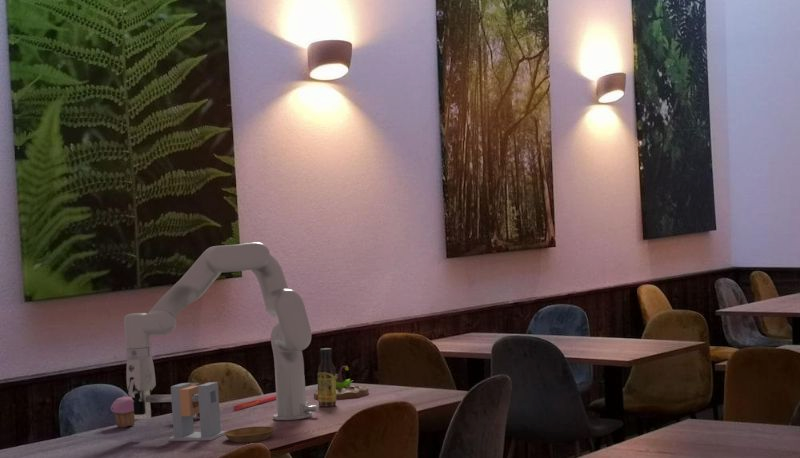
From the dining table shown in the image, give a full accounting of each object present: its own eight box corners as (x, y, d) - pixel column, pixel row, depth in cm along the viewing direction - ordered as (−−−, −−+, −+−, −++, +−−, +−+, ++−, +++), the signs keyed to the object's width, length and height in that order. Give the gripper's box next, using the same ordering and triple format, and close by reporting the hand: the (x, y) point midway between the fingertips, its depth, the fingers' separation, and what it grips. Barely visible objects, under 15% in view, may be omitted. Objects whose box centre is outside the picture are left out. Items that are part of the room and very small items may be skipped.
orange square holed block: (202, 411, 331) (200, 385, 331) (190, 416, 323) (188, 389, 323) (193, 411, 332) (191, 385, 332) (181, 416, 324) (179, 389, 324)
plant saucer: (231, 446, 309) (231, 437, 309) (219, 439, 323) (218, 430, 323) (281, 439, 315) (281, 430, 315) (267, 433, 329) (266, 424, 329)
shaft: (201, 416, 328) (199, 386, 328) (196, 418, 325) (195, 388, 325) (139, 417, 334) (137, 388, 334) (134, 419, 331) (132, 389, 331)
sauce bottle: (315, 407, 373) (311, 349, 373) (323, 404, 379) (319, 347, 379) (332, 407, 371) (329, 349, 371) (340, 404, 376) (336, 347, 377)
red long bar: (230, 413, 380) (240, 409, 378) (228, 407, 380) (238, 403, 378) (270, 402, 401) (280, 398, 399) (268, 397, 401) (278, 393, 399)
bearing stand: (225, 434, 330) (222, 381, 330) (211, 440, 320) (208, 386, 320) (184, 434, 334) (181, 382, 334) (168, 440, 324) (165, 387, 324)
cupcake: (131, 423, 363) (129, 393, 364) (145, 425, 357) (143, 395, 357) (107, 427, 357) (105, 397, 357) (121, 429, 351) (119, 399, 351)
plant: (365, 399, 388) (363, 367, 388) (311, 402, 389) (309, 370, 390) (370, 391, 408) (368, 361, 408) (319, 394, 409) (317, 364, 410)
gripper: (136, 356, 323) (140, 417, 323) (162, 350, 339) (166, 408, 339) (113, 357, 325) (117, 418, 325) (141, 350, 341) (144, 409, 341)
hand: (142, 412), depth 332 cm, fingers closed on shaft, 3 cm apart
